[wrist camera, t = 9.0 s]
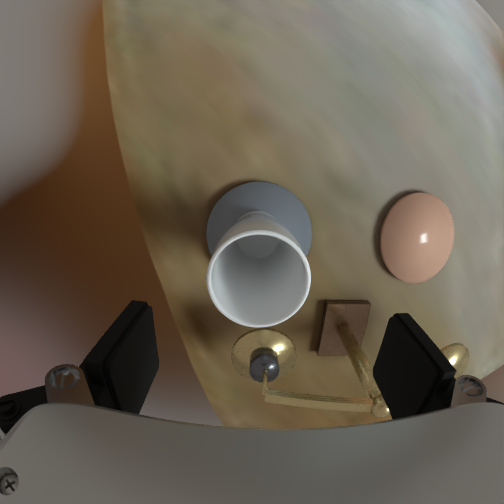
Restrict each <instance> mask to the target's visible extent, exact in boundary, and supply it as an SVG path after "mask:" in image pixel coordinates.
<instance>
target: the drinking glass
mask: <svg viewBox="0 0 504 504" xmlns="http://www.w3.org/2000/svg"><path fill="white" fill-rule="evenodd" d="M206 280H207V288H208V292H209V295H210V298H211V300H212V302H213V303H214V305H215V306H216V307H217V309H218V310H219V311H220V312H221V313H222V314H223V315H224V316H226V317H227V318H228V319H230V320H232V321H233V322H236V323H238V324H241V325H244V326H248V327H268V326H273V325H276V324H279V323H281V322H283V321H285V320H287V319H289V318H290V317H291V316H293V315H294V314H295V313H296V312H297V311H298V310H299V309H300V307H301V306H302V305H303V303H304V302H305V300H306V298H307V295H308V293H309V289H310V284H311V273H310V267H309V264H308V261H307V259H306V256H305V254H304V252H303V250H302V248H301V246H300V244H299V242H298V241H297V239H296V238H295V237H294V236H293V234H292V233H291V232H290V231H289V230H288V229H287V228H285V227H284V226H283V225H282V224H280V223H279V222H278V221H277V220H276V219H275V218H274V217H273V216H272V215H270V214H268V213H266V212H263V211H251V212H248V213H246V214H244V215H243V216H241V217H240V218H239V219H238V221H237V222H236V223H235V224H234V225H233V226H232V227H231V228H229V229H228V230H227V231H226V232H225V234H224V235H223V236H222V237H221V239H220V240H219V242H218V243H217V245H216V247H215V249H214V251H213V254H212V256H211V259H210V262H209V265H208V269H207V277H206Z"/></svg>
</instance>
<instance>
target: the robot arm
mask: <svg viewBox="0 0 504 504" xmlns="http://www.w3.org/2000/svg"><path fill="white" fill-rule="evenodd" d="M158 368H159V358H158V351H157V345H156V336H155V329H154V320H153V312H152V307H151V306H148V304H147V302H143V301H135V300H133V301H131V302H130V303H129V304H128V306H127V307H126V308H125V309H124V310H123V312H122V313H121V314H120V316H119V317H118V318H117V319H116V320H115V321H114V323H113V324H112V325H111V326H110V327H109V329H108V330H107V331H106V332H105V334H104V335H103V336H102V337H101V339H100V340H99V341H98V342H97V344H96V345H95V346H94V347H93V349H92V350H91V352H90V353H89V354H88V355H87V356H86V358H85V359H84V361H83V362H82V363H81V365H80V366H79V367H78V366H76V365H73V364H61V365H58V366H55V367H54V368H52V369H51V370H49V372H48V373H47V374H46V376H45V385H44V386H40V387H36V388H33V389H29V390H25V391H21V392H17V393H13V394H8V395H5V396H2V397H1V398H0V504H504V403H501V402H499V401H496V400H493V399H490V398H487V389H486V386H485V385H484V384H483V382H482V381H481V380H479V379H478V378H476V377H474V376H471V375H462V376H459V377H458V378H457V379H455V378H454V375H455V373H456V371H457V370H456V369H455V368H454V367H453V365H452V364H451V363H450V362H449V360H448V359H447V358H446V357H445V355H444V354H443V353H442V352H441V351H440V349H439V348H438V347H437V346H436V345H435V343H434V342H433V341H432V340H431V339H430V338H429V336H428V335H427V334H426V333H425V332H424V331H423V329H422V328H421V327H420V326H419V325H418V324H417V323H416V321H415V320H414V319H413V318H412V317H411V316H410V315H409V314H408V313H396V314H394V315H393V317H391V318H390V319H389V321H388V325H387V328H386V331H385V335H384V338H383V341H382V344H381V347H380V350H379V353H378V356H377V359H376V362H375V365H374V367H373V378H374V380H375V382H376V384H377V386H378V388H379V390H380V392H381V395H382V397H383V399H384V401H385V403H386V405H387V408H388V410H389V412H390V414H391V417H392V419H393V420H387V421H380V422H373V423H366V424H357V425H348V426H337V427H324V428H303V429H259V428H237V427H223V426H212V425H203V424H194V423H187V422H180V421H173V420H167V419H161V418H155V417H149V416H144V415H140V414H139V412H140V410H141V408H142V405H143V403H144V401H145V398H146V396H147V394H148V391H149V389H150V386H151V384H152V382H153V380H154V377H155V375H156V373H157V371H158Z"/></svg>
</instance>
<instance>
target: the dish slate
mask: <svg viewBox="0 0 504 504" xmlns="http://www.w3.org/2000/svg"><path fill="white" fill-rule="evenodd" d="M251 211H263V212H266V213H268V214H270V215H272V216H273V217H274V218H275V219H276V220H277V221H278V222H279V223H280V224H282V225H283V226H284V227H285V228H287V229H288V230H289V231H290V232H291V233H292V234H293V236H294V237H295V238H296V239H297V241H298V242H299V244H300V246H301V248H302V250H303V252H304V254H305V256H307V254H308V252H309V249H310V246H311V240H312V226H311V221H310V218H309V215H308V212H307V210H306V209H305V207H304V205H303V204H302V203H301V201H300V200H299V199H298V198H297V197H296V196H295V195H294V194H293V193H291V192H290V191H289V190H287V189H285V188H284V187H281V186H279V185H277V184H273V183H269V182H249V183H245V184H242V185H239V186H237V187H235V188H233V189H232V190H230V191H228V192H227V193H226V194H225V195H223V196H222V197H221V198H220V199H219V201H218V202H217V203H216V205H215V206H214V208H213V210H212V211H211V214H210V216H209V219H208V223H207V231H206V236H207V244H208V248H209V251H210V254H211V256H212V254H213V251H214V249H215V247H216V245H217V243H218V242H219V240H220V239H221V237H222V236H223V235H224V234H225V232H226V231H227V230H228V229H229V228H231V227H232V226H233V225H234V224H235V223H236V222H237V221H238V219H239V218H240V217H241V216H243V215H244V214H246V213H248V212H251Z"/></svg>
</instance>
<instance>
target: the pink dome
mask: <svg viewBox="0 0 504 504" xmlns="http://www.w3.org/2000/svg"><path fill="white" fill-rule="evenodd" d="M453 242H454V224H453V219H452V216H451V214H450V211H449V209H448V208H447V206H446V205H445V204H444V202H443V201H441V200H440V199H439V198H438V197H436V196H434V195H432V194H428V193H422V192H414V193H410V194H407V195H405V196H403V197H402V198H400V199H399V200H398V201H396V202H395V203H394V204H393V205H392V207H391V208H390V209H389V211H388V212H387V214H386V216H385V218H384V220H383V223H382V226H381V230H380V237H379V247H380V253H381V257H382V260H383V262H384V264H385V266H386V267H387V269H388V270H389V271H390V272H391V273H392V274H393V275H394V276H396V277H397V278H399V279H400V280H402V281H405V282H408V283H419V282H423V281H425V280H428V279H429V278H431V277H433V276H434V275H435V274H436V273H438V272H439V271H440V270H441V268H442V267H443V266H444V264H445V263H446V261H447V259H448V258H449V255H450V253H451V250H452V247H453Z"/></svg>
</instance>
